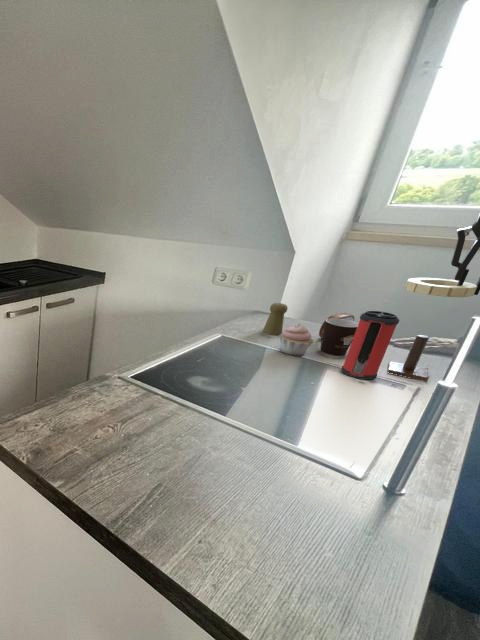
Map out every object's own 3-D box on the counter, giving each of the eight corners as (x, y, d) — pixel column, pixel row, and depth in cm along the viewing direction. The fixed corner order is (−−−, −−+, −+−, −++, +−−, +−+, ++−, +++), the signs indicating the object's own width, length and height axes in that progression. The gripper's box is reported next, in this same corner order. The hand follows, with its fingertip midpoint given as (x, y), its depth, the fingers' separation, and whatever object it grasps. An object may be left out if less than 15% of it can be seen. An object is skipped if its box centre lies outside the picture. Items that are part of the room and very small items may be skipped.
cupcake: (272, 345, 132) (280, 317, 128) (305, 349, 129) (314, 320, 125) (277, 355, 125) (285, 325, 121) (312, 359, 121) (322, 329, 117)
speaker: (337, 374, 112) (359, 314, 104) (343, 366, 116) (365, 308, 109) (373, 382, 106) (398, 320, 99) (378, 374, 111) (402, 313, 103)
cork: (285, 335, 140) (293, 306, 136) (266, 335, 141) (274, 305, 137) (277, 330, 146) (285, 301, 141) (259, 329, 147) (267, 301, 142)
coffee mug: (320, 355, 124) (330, 325, 120) (312, 345, 131) (321, 317, 127) (366, 360, 120) (378, 329, 116) (355, 349, 127) (366, 320, 123)
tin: (340, 332, 142) (348, 310, 138) (350, 335, 139) (359, 312, 136) (315, 339, 136) (322, 316, 133) (325, 342, 134) (333, 318, 130)
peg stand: (426, 372, 111) (443, 335, 107) (426, 381, 106) (444, 343, 101) (388, 364, 116) (403, 329, 112) (387, 373, 111) (402, 336, 107)
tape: (470, 290, 113) (474, 281, 112) (475, 299, 104) (479, 290, 103) (405, 284, 122) (408, 275, 121) (404, 292, 113) (408, 283, 112)
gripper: (462, 204, 103) (425, 291, 112) (560, 204, 92) (511, 300, 102) (460, 203, 107) (425, 286, 117) (553, 202, 97) (507, 294, 106)
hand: (465, 292), depth 109 cm, fingers closed on tape, 3 cm apart
